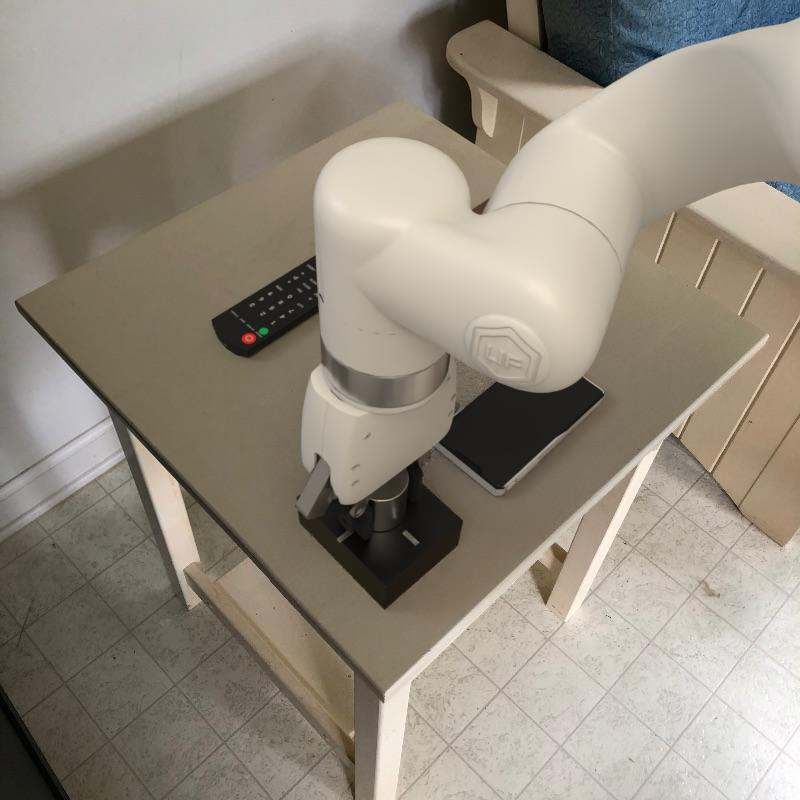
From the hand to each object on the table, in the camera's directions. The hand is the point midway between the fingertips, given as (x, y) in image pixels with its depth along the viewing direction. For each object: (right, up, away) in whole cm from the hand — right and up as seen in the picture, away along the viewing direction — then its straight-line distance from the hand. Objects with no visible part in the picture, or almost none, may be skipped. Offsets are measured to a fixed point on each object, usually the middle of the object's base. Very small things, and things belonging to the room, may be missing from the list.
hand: (379, 505), depth 62 cm
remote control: (-6, +19, +20) cm, 28 cm away
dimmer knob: (0, 0, 0) cm, 0 cm away
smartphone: (+12, +6, +11) cm, 17 cm away
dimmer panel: (0, -3, +4) cm, 5 cm away
